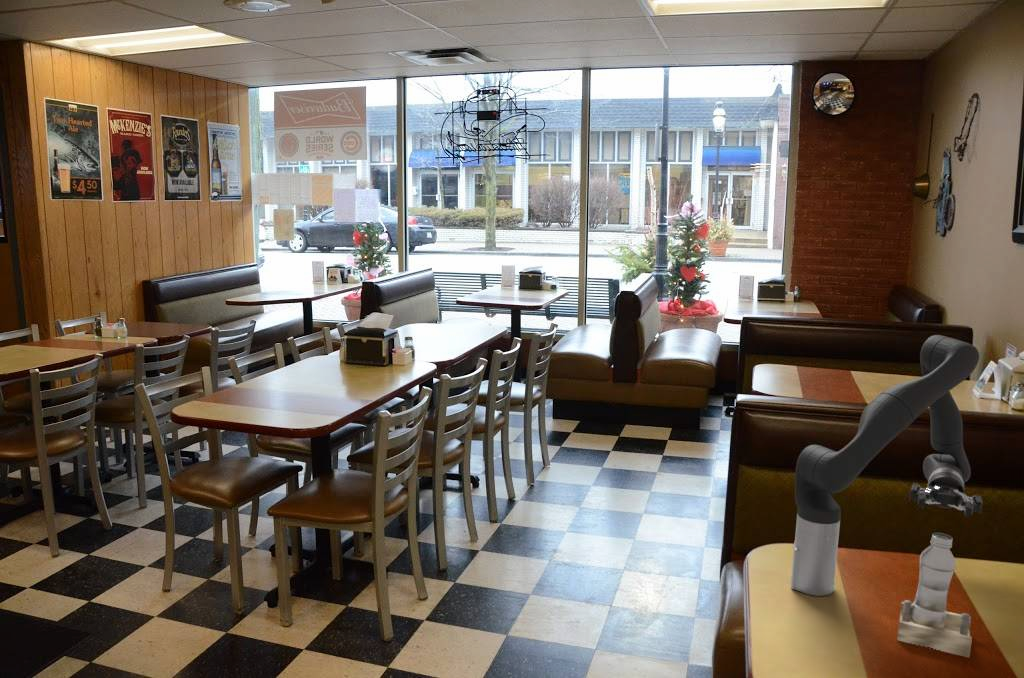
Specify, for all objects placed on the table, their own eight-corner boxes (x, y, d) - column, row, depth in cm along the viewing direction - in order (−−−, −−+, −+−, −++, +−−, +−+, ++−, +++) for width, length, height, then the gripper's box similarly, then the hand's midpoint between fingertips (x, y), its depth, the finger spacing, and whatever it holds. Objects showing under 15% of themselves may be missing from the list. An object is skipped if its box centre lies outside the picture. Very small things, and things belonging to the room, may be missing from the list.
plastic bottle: (948, 637, 167) (966, 545, 163) (913, 632, 168) (929, 540, 164) (938, 622, 173) (955, 532, 169) (904, 616, 174) (920, 527, 170)
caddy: (897, 640, 168) (900, 610, 167) (899, 618, 177) (903, 590, 176) (969, 657, 162) (973, 627, 161) (968, 634, 171) (972, 605, 170)
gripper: (914, 465, 195) (911, 484, 181) (983, 477, 188) (985, 498, 174) (910, 495, 196) (906, 516, 182) (978, 508, 190) (980, 531, 176)
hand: (945, 507), depth 178 cm, fingers open, 8 cm apart
